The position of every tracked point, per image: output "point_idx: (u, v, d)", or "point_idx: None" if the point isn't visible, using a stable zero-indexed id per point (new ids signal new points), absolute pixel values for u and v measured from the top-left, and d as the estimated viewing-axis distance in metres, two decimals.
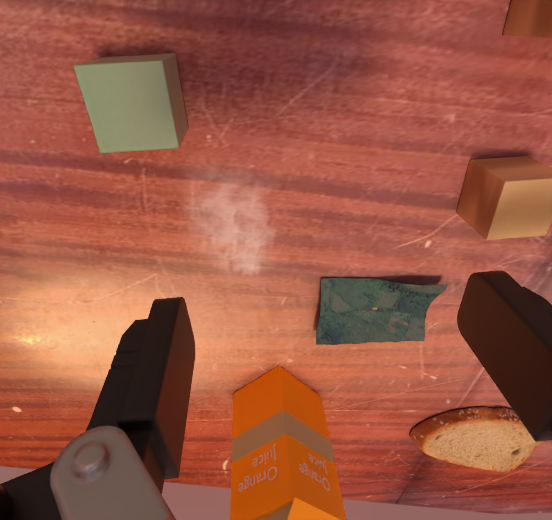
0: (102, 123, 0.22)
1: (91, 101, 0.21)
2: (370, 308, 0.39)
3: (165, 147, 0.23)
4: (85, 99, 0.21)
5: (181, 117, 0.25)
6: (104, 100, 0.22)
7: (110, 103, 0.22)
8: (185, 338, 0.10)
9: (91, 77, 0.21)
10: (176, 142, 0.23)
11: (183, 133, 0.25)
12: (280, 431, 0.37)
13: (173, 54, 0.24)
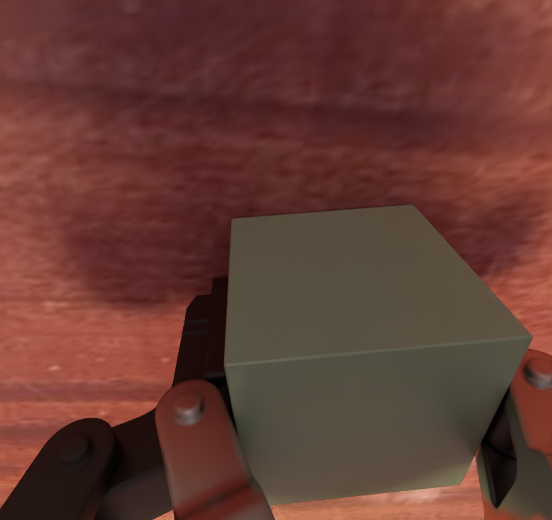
0: (276, 466, 0.07)
1: (259, 431, 0.07)
2: None
3: (426, 487, 0.09)
4: (242, 429, 0.07)
5: None
6: (301, 427, 0.07)
7: (317, 431, 0.07)
8: None
9: (278, 387, 0.06)
10: (462, 478, 0.08)
11: None
12: None
13: (425, 218, 0.09)
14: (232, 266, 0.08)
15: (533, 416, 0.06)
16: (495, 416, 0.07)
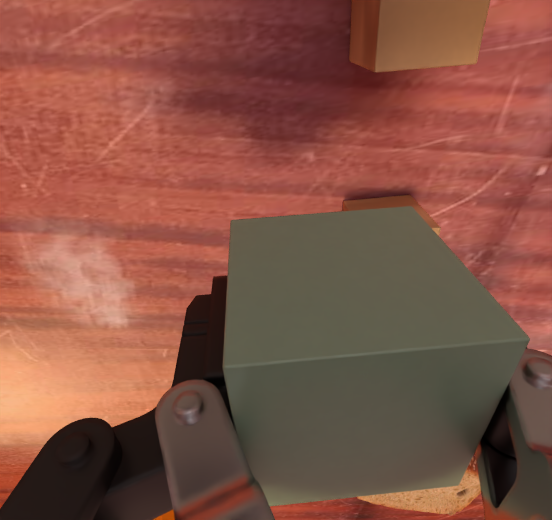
0: (275, 467, 0.07)
1: (257, 432, 0.07)
2: None
3: (425, 487, 0.09)
4: (241, 431, 0.07)
5: None
6: (299, 428, 0.07)
7: (316, 433, 0.07)
8: None
9: (277, 389, 0.06)
10: (460, 479, 0.08)
11: None
12: None
13: None
14: (231, 268, 0.08)
15: (533, 416, 0.06)
16: (495, 416, 0.07)
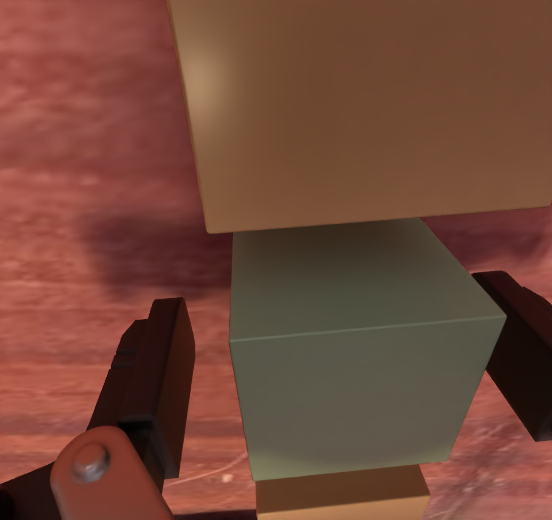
0: (276, 439, 0.08)
1: (259, 405, 0.07)
2: None
3: (416, 462, 0.09)
4: (244, 403, 0.07)
5: None
6: (298, 401, 0.07)
7: (313, 406, 0.07)
8: (185, 338, 0.10)
9: (278, 362, 0.07)
10: (448, 454, 0.09)
11: None
12: None
13: None
14: (235, 256, 0.09)
15: None
16: None
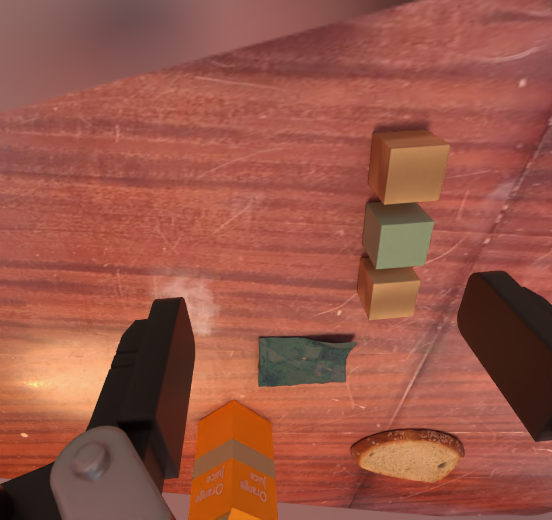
0: (384, 253, 0.35)
1: (383, 242, 0.35)
2: (300, 358, 0.50)
3: (416, 265, 0.36)
4: (380, 242, 0.35)
5: None
6: (391, 242, 0.35)
7: (394, 243, 0.35)
8: (185, 338, 0.10)
9: (389, 231, 0.34)
10: (424, 262, 0.36)
11: None
12: (228, 456, 0.48)
13: None
14: (373, 212, 0.36)
15: None
16: None
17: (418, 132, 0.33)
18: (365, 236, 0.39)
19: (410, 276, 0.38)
